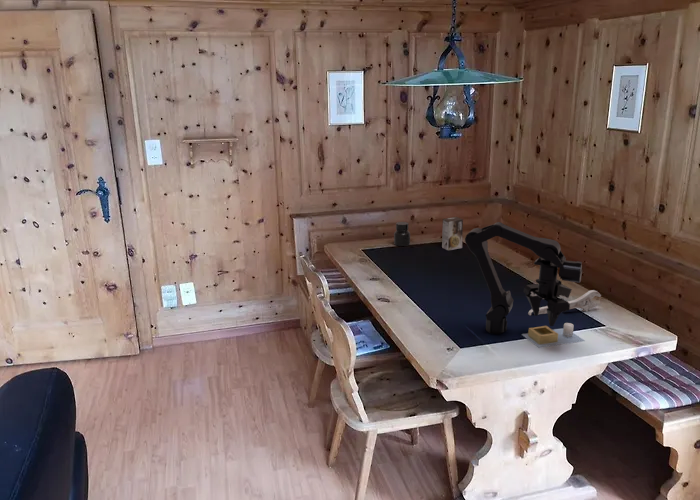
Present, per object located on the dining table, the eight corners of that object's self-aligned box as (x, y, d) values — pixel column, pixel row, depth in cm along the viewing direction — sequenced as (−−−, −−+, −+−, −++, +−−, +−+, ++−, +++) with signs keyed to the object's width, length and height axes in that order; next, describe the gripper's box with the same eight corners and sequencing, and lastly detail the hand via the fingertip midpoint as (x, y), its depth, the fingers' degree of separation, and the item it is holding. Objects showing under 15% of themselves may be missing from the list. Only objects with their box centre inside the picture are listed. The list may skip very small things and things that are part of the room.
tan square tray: (539, 344, 193) (540, 336, 193) (528, 336, 200) (528, 328, 199) (557, 341, 195) (558, 333, 194) (545, 333, 202) (546, 325, 201)
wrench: (528, 323, 220) (598, 307, 225) (530, 325, 218) (601, 308, 223) (527, 304, 217) (598, 288, 222) (530, 306, 216) (601, 290, 220)
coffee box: (455, 245, 311) (456, 216, 307) (462, 248, 306) (463, 219, 301) (441, 247, 308) (442, 218, 303) (448, 250, 302) (449, 221, 297)
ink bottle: (411, 242, 318) (412, 221, 315) (409, 247, 310) (410, 225, 306) (394, 241, 320) (394, 221, 317) (392, 246, 312) (392, 224, 309)
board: (538, 350, 192) (539, 336, 190) (521, 336, 202) (522, 323, 200) (584, 343, 196) (586, 330, 194) (565, 330, 206) (566, 317, 205)
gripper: (586, 284, 184) (581, 328, 189) (552, 267, 202) (548, 307, 206) (556, 288, 182) (551, 333, 186) (524, 270, 199) (521, 311, 203)
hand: (543, 320), depth 196 cm, fingers open, 9 cm apart
